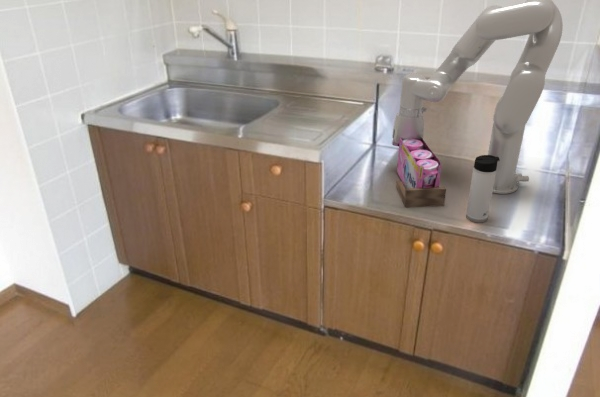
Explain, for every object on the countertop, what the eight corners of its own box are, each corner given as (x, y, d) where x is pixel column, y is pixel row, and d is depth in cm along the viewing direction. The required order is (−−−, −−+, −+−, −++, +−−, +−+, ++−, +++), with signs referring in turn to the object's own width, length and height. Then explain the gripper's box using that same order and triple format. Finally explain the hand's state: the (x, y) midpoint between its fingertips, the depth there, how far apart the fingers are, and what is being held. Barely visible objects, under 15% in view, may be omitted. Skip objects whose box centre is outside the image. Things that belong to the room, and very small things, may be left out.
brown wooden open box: (432, 185, 169) (433, 169, 166) (443, 205, 157) (446, 188, 154) (396, 186, 169) (397, 171, 166) (405, 207, 157) (406, 190, 154)
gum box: (439, 204, 158) (444, 166, 151) (415, 206, 157) (419, 167, 150) (417, 170, 178) (421, 135, 172) (396, 172, 178) (399, 137, 171)
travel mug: (489, 223, 147) (501, 162, 137) (466, 222, 148) (476, 161, 138) (487, 213, 152) (498, 153, 143) (464, 211, 153) (474, 152, 144)
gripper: (429, 107, 172) (423, 155, 181) (386, 107, 171) (382, 156, 180) (435, 114, 165) (428, 164, 174) (391, 115, 165) (386, 165, 174)
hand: (405, 160), depth 177 cm, fingers closed
